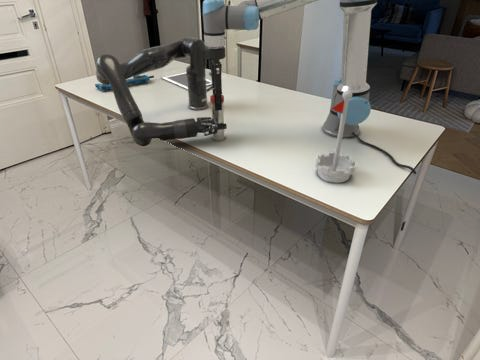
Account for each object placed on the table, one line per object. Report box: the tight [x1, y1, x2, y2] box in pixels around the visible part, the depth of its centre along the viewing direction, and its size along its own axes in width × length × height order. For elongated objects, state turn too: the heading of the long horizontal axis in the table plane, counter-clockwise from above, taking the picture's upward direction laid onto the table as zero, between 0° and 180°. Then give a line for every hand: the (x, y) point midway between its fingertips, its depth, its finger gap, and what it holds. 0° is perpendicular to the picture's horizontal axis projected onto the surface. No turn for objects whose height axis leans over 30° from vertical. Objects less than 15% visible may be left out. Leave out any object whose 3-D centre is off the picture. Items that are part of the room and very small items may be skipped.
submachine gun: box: [94, 74, 155, 92], centre depth 207 cm, size 34×4×25 cm
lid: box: [209, 94, 225, 104], centre depth 135 cm, size 5×6×2 cm
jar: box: [210, 102, 225, 141], centre depth 139 cm, size 5×5×18 cm
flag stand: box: [315, 90, 356, 183], centre depth 111 cm, size 13×13×30 cm
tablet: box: [161, 71, 212, 91], centre depth 211 cm, size 32×20×1 cm, turn 41°
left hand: (224, 123), depth 141 cm, fingers closed on jar, 5 cm apart
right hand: (217, 107), depth 137 cm, fingers closed on lid, 5 cm apart
